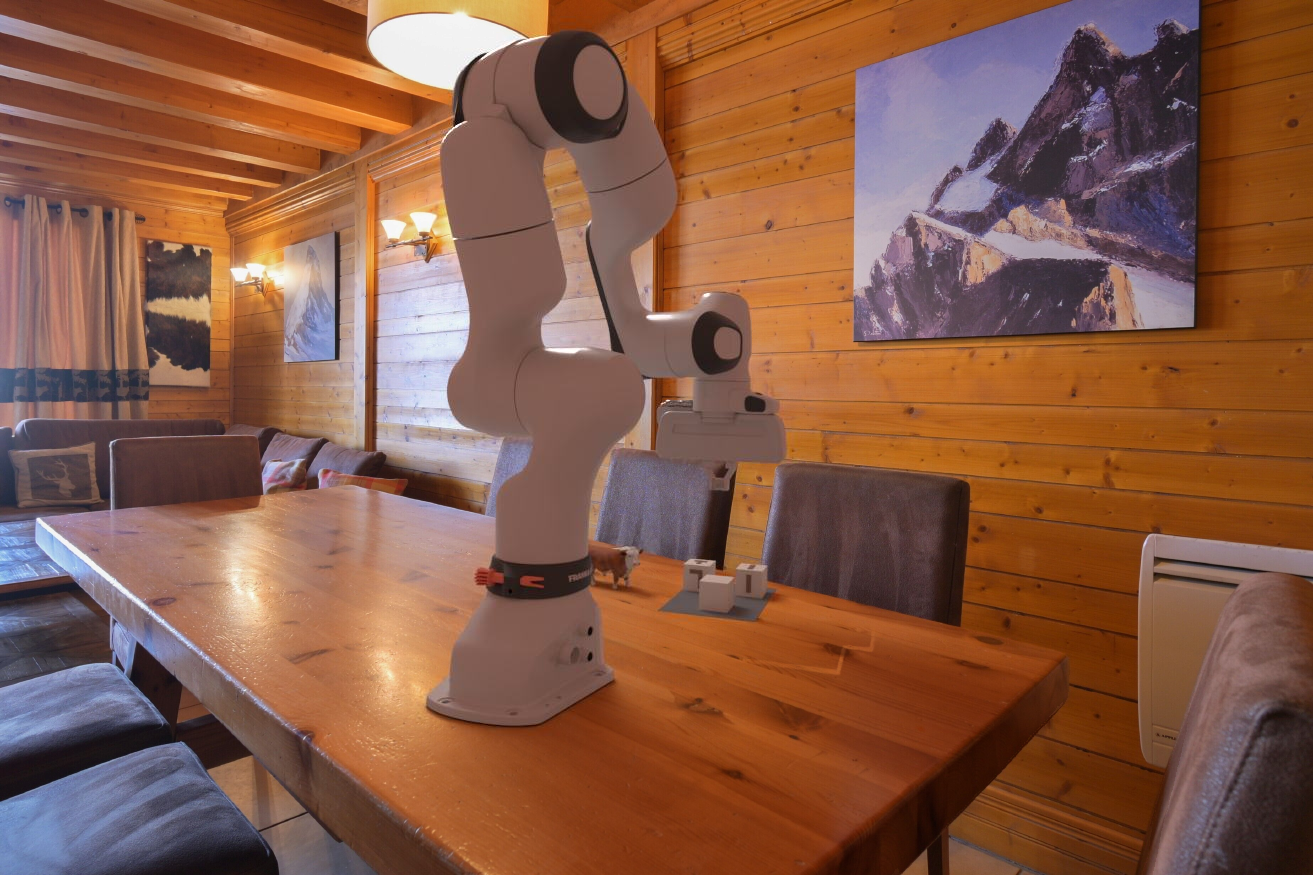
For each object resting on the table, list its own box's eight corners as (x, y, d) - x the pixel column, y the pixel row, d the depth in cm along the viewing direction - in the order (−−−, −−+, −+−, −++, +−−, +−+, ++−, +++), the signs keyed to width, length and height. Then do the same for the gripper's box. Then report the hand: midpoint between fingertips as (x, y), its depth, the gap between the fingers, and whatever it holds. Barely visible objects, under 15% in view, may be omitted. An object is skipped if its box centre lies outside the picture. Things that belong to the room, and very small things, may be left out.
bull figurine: (634, 598, 122) (635, 549, 121) (574, 584, 130) (575, 539, 129) (650, 593, 125) (651, 545, 125) (591, 580, 133) (592, 535, 133)
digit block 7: (708, 593, 124) (709, 565, 123) (682, 590, 125) (683, 563, 125) (715, 586, 128) (715, 560, 128) (690, 583, 129) (690, 557, 129)
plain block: (727, 612, 112) (727, 583, 112) (698, 609, 114) (699, 580, 114) (733, 605, 117) (734, 577, 116) (706, 602, 118) (706, 574, 118)
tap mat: (754, 625, 108) (754, 621, 108) (657, 614, 113) (657, 610, 113) (776, 591, 127) (776, 588, 127) (692, 583, 132) (692, 580, 132)
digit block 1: (761, 598, 121) (762, 570, 120) (734, 595, 122) (735, 568, 122) (766, 591, 125) (767, 564, 125) (740, 589, 127) (741, 562, 126)
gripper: (650, 399, 114) (649, 488, 115) (783, 402, 107) (780, 496, 108) (663, 399, 120) (661, 483, 121) (789, 402, 113) (787, 491, 114)
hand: (719, 489), depth 114 cm, fingers closed
